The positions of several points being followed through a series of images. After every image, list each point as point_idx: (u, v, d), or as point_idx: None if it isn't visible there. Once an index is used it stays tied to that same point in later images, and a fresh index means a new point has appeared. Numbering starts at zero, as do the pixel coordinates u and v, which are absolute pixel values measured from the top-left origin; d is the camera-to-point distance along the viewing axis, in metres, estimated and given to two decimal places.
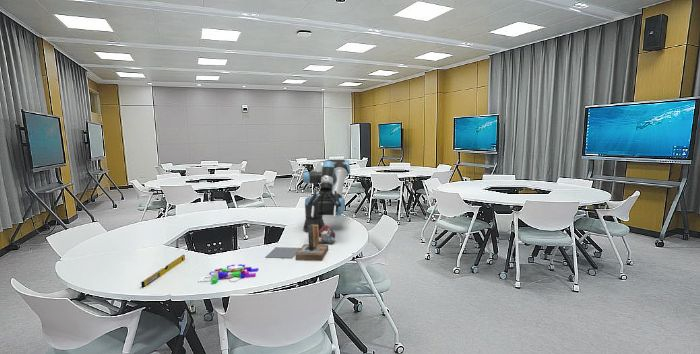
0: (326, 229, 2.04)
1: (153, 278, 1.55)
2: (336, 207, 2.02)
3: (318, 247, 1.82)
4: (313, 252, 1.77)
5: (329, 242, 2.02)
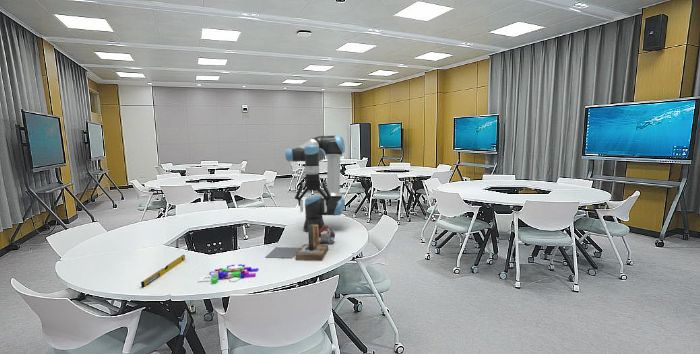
0: (326, 229, 2.04)
1: (153, 278, 1.55)
2: (326, 201, 1.85)
3: (318, 247, 1.82)
4: (313, 252, 1.77)
5: (329, 242, 2.02)
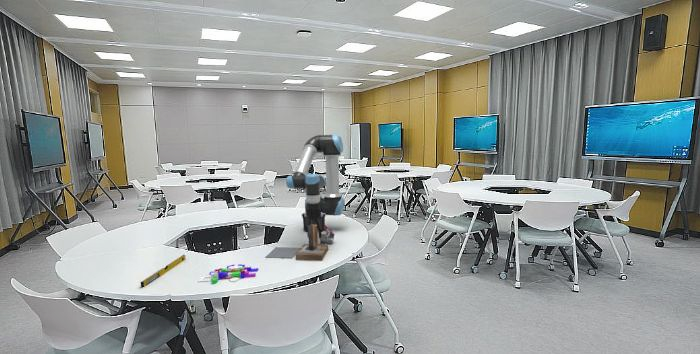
0: (325, 229, 2.03)
1: (153, 278, 1.55)
2: (319, 233, 1.88)
3: (318, 247, 1.82)
4: (313, 252, 1.77)
5: (328, 242, 2.01)
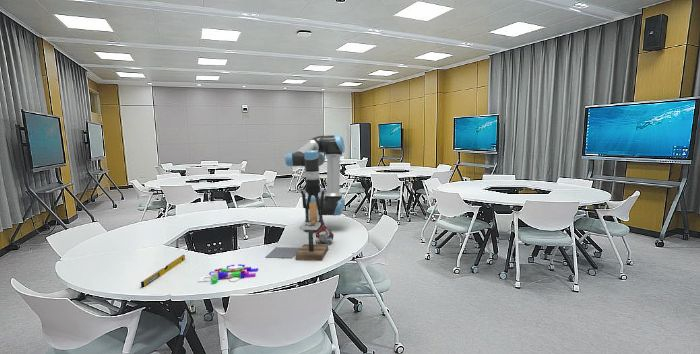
0: (324, 230, 2.03)
1: (153, 278, 1.55)
2: (318, 210, 1.86)
3: (317, 223, 1.81)
4: (312, 228, 1.75)
5: (327, 243, 2.01)
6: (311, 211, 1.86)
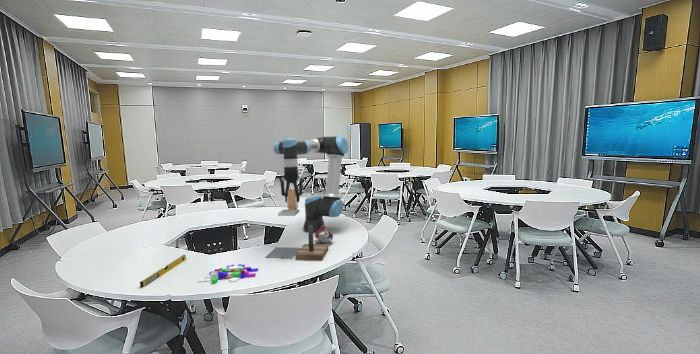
0: (324, 230, 2.02)
1: (152, 278, 1.55)
2: (297, 197, 1.88)
3: (296, 210, 1.83)
4: (290, 214, 1.78)
5: (326, 243, 2.00)
6: (290, 198, 1.88)
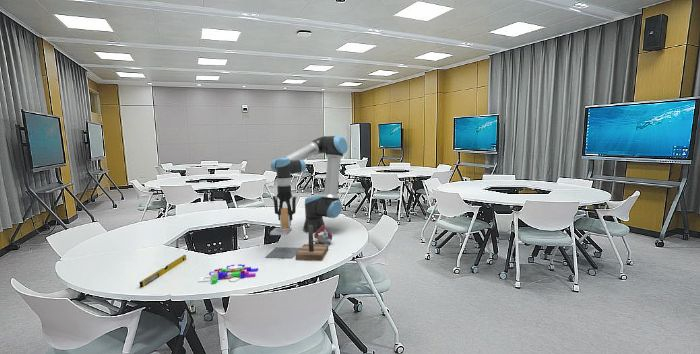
0: (323, 230, 2.02)
1: (152, 278, 1.55)
2: (290, 216, 1.91)
3: (288, 229, 1.85)
4: (282, 233, 1.80)
5: (325, 243, 1.99)
6: (282, 217, 1.90)
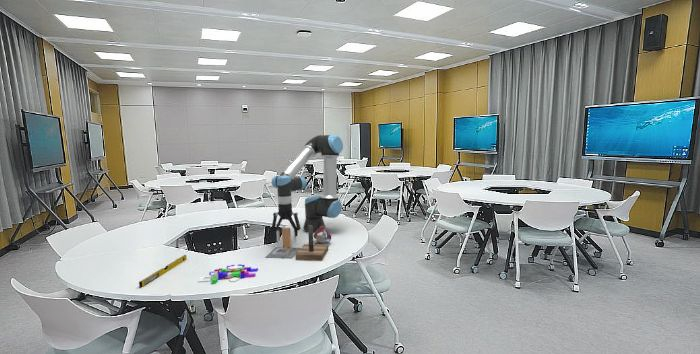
0: (322, 230, 2.01)
1: (152, 278, 1.55)
2: (295, 232, 1.91)
3: (289, 250, 1.87)
4: (283, 255, 1.81)
5: (324, 244, 1.99)
6: (284, 237, 1.92)
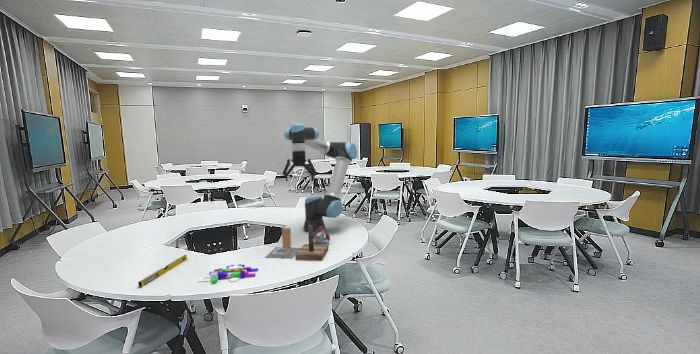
0: (321, 231, 2.01)
1: (151, 278, 1.55)
2: (311, 176, 1.97)
3: (289, 250, 1.87)
4: (283, 255, 1.81)
5: (323, 244, 1.98)
6: (284, 237, 1.92)
